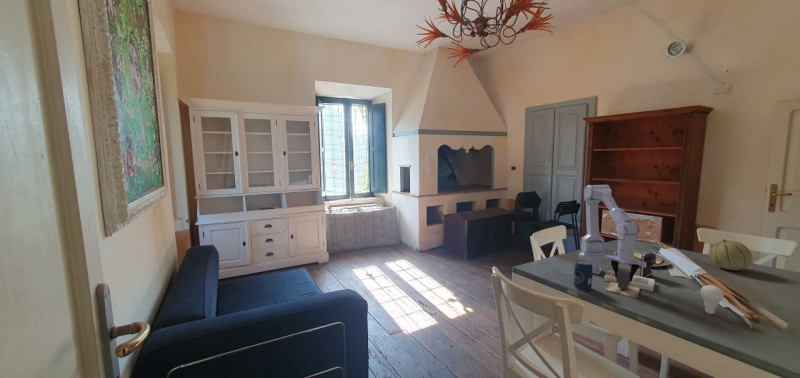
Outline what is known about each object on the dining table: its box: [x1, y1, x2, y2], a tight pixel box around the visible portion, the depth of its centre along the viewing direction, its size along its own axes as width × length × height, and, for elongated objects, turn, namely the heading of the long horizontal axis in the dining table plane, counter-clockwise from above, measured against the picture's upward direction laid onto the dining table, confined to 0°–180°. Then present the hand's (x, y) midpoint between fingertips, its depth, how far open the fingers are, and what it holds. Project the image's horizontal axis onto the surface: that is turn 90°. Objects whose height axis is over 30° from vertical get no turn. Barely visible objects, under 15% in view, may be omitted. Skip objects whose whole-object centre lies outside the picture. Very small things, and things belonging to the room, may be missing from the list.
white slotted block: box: [603, 270, 656, 292], centre depth 145 cm, size 18×10×3 cm, turn 48°
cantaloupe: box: [709, 239, 753, 271], centre depth 157 cm, size 15×15×15 cm
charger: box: [616, 266, 631, 289], centre depth 137 cm, size 4×6×8 cm
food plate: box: [611, 249, 671, 267], centre depth 172 cm, size 25×23×4 cm
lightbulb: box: [699, 284, 725, 315], centre depth 116 cm, size 6×6×11 cm
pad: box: [605, 281, 641, 299], centre depth 137 cm, size 11×11×1 cm
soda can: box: [573, 259, 593, 292], centre depth 140 cm, size 7×7×12 cm
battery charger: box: [639, 251, 657, 278], centre depth 150 cm, size 7×4×11 cm, turn 119°
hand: (623, 279), depth 137 cm, fingers closed on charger, 4 cm apart
